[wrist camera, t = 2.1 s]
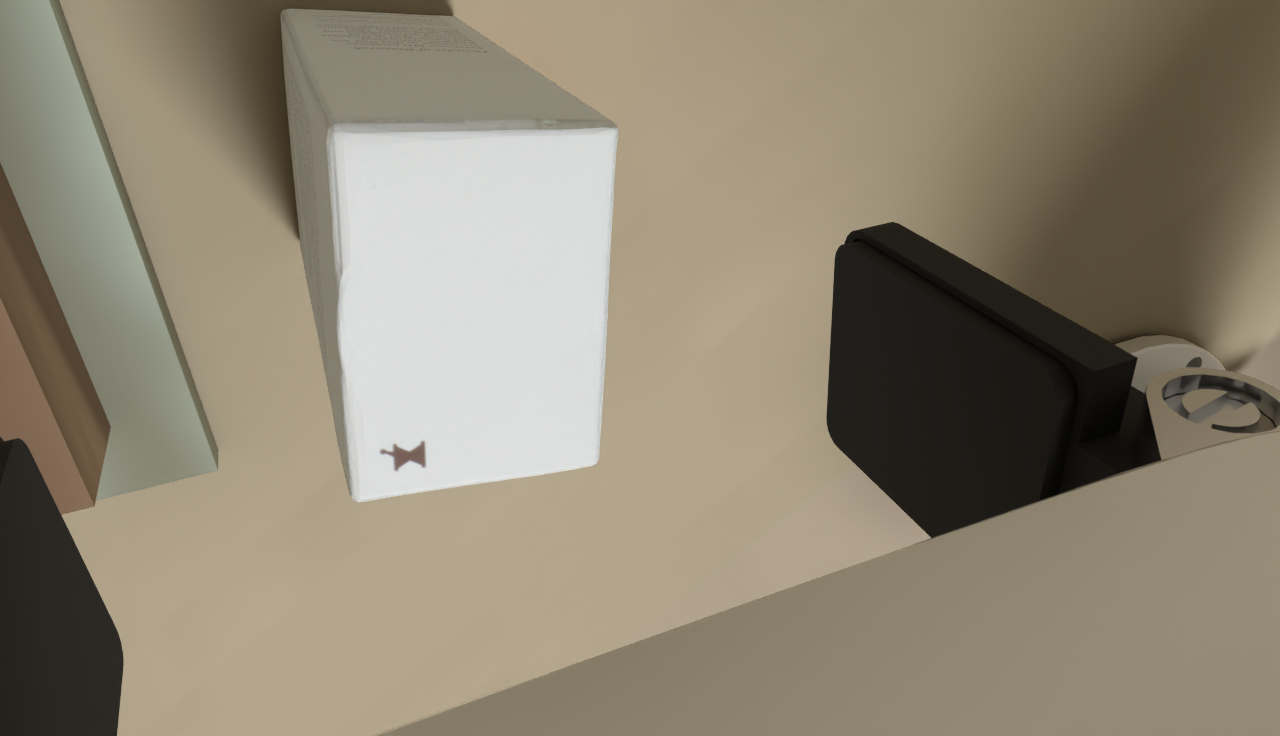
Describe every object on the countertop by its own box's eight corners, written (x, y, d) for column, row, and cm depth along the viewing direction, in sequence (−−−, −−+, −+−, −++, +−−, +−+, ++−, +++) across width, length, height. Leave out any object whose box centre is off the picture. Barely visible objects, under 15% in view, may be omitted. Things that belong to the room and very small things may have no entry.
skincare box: (462, 240, 26) (603, 478, 16) (298, 248, 24) (343, 517, 15) (461, 6, 23) (630, 121, 13) (275, -2, 22) (312, 122, 12)
